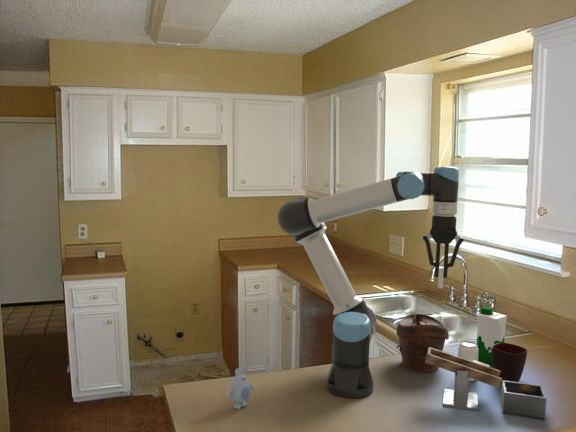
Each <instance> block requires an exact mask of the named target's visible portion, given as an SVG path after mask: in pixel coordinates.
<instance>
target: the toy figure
mask: <svg viewBox="0 0 576 432" xmlns="http://www.w3.org/2000/svg"><path fill="white" fill-rule="evenodd" d="M245 372H246V366H242V367H241V371H240V369H239V368H236V369H235V371H234V374H235V375H234V377H233V379H232V381H231V383H230V385H229V391H227V393H226V394H225V399H226V400H229V398H231V399H232V401H233V402H234V403H235V404H234V405H233V406H234V409H235V410H239V409H241V408H243V407H246V406H247V402H246V401H247V400H248V399H249V397H250V395H251V390H253V389H254V384H253V383H251V382H249V380H248V377H247V376H246V374H245Z"/></svg>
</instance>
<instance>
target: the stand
mask: <svg viewBox="0 0 576 432" xmlns="http://www.w3.org/2000/svg"><path fill="white" fill-rule="evenodd" d="M469 384H470V382H469V377H468V371H466V370H458V369H457V373H454V384H453V385H454V386H453V389H449V388H443V399H442V400H443V401H442V406H443V407H449V408H456V409H462V410H469V411H476V412H479V400H478V392H471V391H469Z"/></svg>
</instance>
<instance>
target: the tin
mask: <svg viewBox="0 0 576 432" xmlns="http://www.w3.org/2000/svg"><path fill="white" fill-rule="evenodd" d="M500 391H501V392H500V403H501V410H502V414H503V415H509V416H516V417H523V418H529V419H536V420H543V421H545V420H546V405H547V397H546V394H545V393H546V392H545V390H544V388H543V385H539V384H534V383H527V382H525V383H524V382H520V381H519V382H512V381H504V380H502V385H501V390H500Z"/></svg>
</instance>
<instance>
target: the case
mask: <svg viewBox="0 0 576 432" xmlns="http://www.w3.org/2000/svg"><path fill="white" fill-rule="evenodd" d="M396 336H398V341H399V345H397V346H396V350H398V349H399V352H400V354H401V361H402V365H403V366H404V367H405V368H407V369H408V370H410V371H413V372H417V373H431V372H435V371H437V370H438V369H439V367H437V366H434V365H431V364H428V363H425V360H426V355H427V351H428V348H429V347H431V348H434V349H437V350H440V351H443V352H444V347H445V343H446V340H447V341H448V340H449V339H450V335H449V331H448V328H447V327H446V326H445V325H444V324H443V323H442V322H441V321H440V320H438V319H437V318H435V317H433V316H430V315H427V314H424V313H412V314H410V315H406V316H405V317H403V318H402V319H400V321H399V322H398V324H396Z"/></svg>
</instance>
